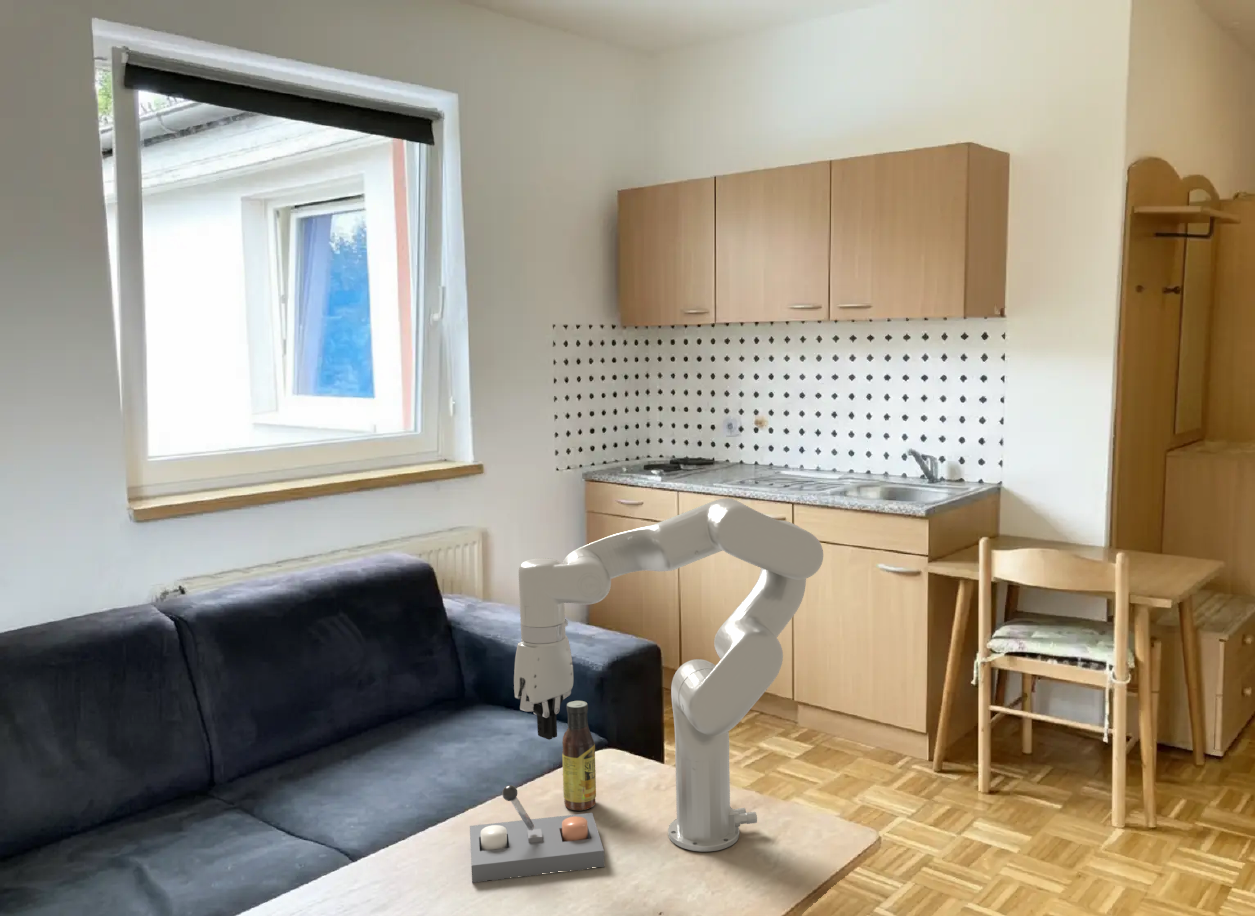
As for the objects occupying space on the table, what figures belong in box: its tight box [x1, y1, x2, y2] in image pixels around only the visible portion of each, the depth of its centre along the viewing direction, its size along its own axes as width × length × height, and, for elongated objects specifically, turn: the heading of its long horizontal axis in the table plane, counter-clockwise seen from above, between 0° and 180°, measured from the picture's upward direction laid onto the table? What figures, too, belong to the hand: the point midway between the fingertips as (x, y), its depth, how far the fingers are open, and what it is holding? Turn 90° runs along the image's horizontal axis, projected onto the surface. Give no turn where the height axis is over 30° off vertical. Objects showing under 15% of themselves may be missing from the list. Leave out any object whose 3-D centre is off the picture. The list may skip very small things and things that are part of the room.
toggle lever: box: [501, 784, 535, 831], centre depth 172 cm, size 3×3×9 cm
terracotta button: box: [562, 817, 588, 842], centre depth 175 cm, size 4×4×4 cm
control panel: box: [469, 812, 605, 884], centre depth 174 cm, size 22×14×4 cm, turn 100°
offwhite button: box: [481, 825, 507, 851], centre depth 172 cm, size 4×4×4 cm
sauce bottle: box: [561, 700, 597, 812], centre depth 191 cm, size 6×6×20 cm
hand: (547, 736), depth 172 cm, fingers closed
